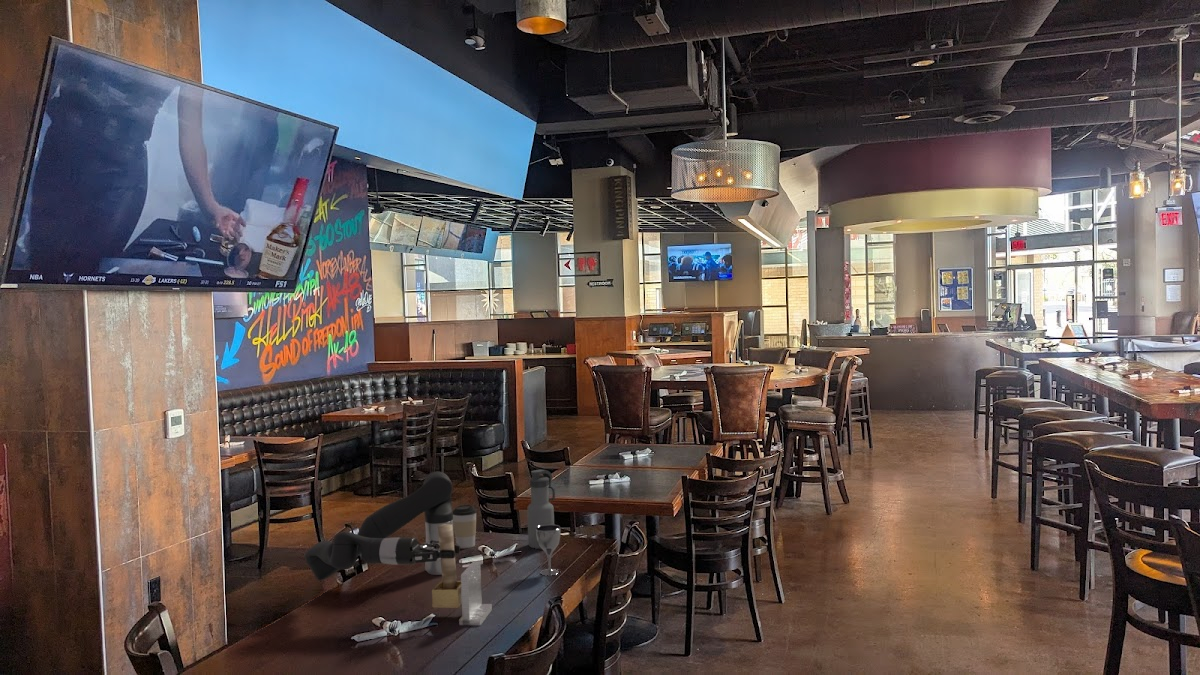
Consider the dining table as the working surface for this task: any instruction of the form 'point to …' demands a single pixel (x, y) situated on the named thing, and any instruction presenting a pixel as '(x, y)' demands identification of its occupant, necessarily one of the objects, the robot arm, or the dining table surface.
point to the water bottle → (539, 504)
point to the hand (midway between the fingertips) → (456, 551)
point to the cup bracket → (464, 596)
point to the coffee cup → (465, 525)
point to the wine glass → (548, 544)
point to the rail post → (447, 563)
